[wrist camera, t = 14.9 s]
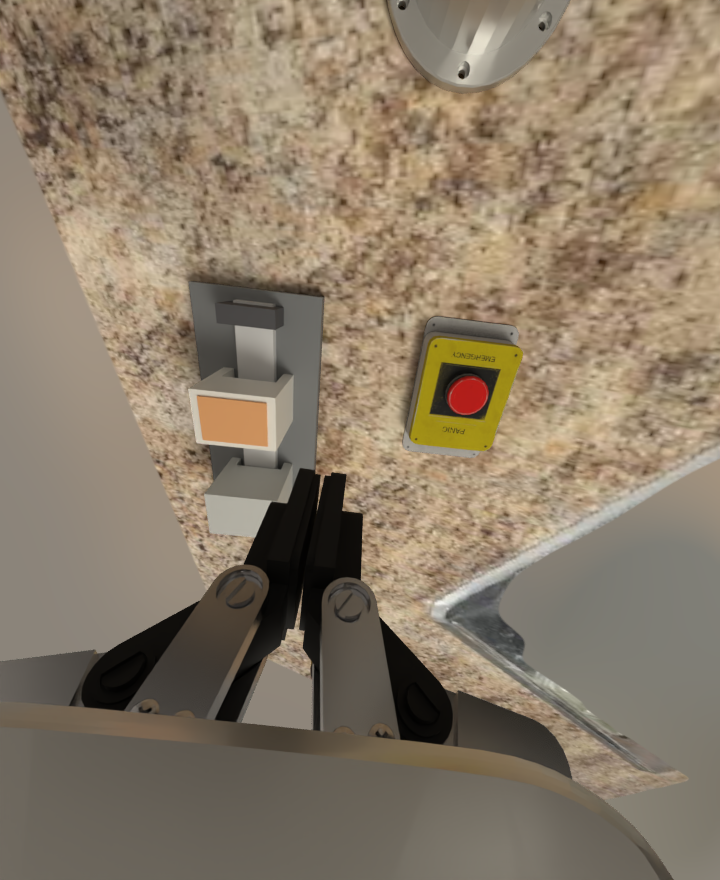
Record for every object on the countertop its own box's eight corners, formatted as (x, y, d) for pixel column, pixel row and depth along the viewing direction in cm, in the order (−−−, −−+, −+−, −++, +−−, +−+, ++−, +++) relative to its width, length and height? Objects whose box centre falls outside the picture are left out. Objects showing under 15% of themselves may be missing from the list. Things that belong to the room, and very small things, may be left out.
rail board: (196, 281, 29) (137, 281, 22) (324, 296, 30) (309, 302, 22) (220, 489, 40) (186, 537, 33) (313, 498, 40) (301, 548, 33)
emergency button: (541, 332, 27) (489, 476, 34) (519, 326, 31) (476, 456, 38) (435, 319, 27) (404, 467, 33) (426, 314, 31) (400, 447, 37)
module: (223, 367, 31) (186, 389, 25) (293, 374, 32) (274, 398, 25) (228, 413, 34) (195, 444, 27) (293, 420, 34) (275, 452, 27)
